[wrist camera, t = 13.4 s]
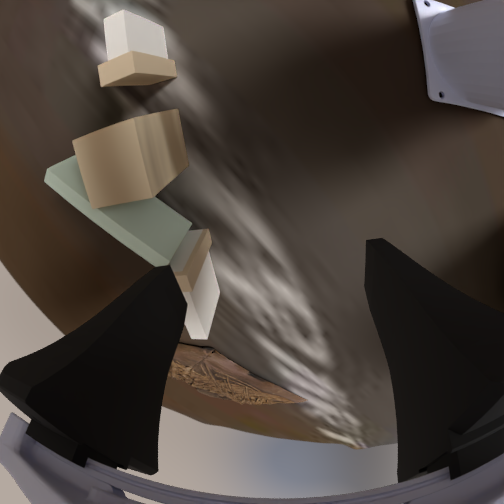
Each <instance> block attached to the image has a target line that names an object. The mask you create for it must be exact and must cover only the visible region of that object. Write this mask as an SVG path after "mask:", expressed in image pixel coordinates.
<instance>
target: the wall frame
mask: <svg viewBox="0 0 504 504" xmlns="http://www.w3.org/2000/svg"><path fill="white" fill-rule="evenodd" d="M104 29H105V39H106V47H107V55H108V61H107V62H105V63H103V64H101V65H99V66H98V71H99V77H100V84H101V87H107V86H130V85H152V84H155V83H158V82H162V81H165V80H168V79H172V78H175V77H177V72H176V67H175V61H174V60H170V59H168V54H167V48H166V42H165V35H164V28H163V27H162V26H160V25H158V24H156V23H154V22H152V21H150V20H147V19H145V18H143V17H141V16H138V15H136V14H133V13H131V12H129V11H126V10H124V9H123V10H121V11H119V12H117V13H115V14H113V15H111V16H109V17H107V18H105V19H104ZM211 244H212V240H211V236H210V232H209V229H200V230H190V231H188V232H187V233H186V235H185V237H184V238H183V240H182V242H181V243H180V245H179V247H178V248H177V250H176V252H175V254H174V255H173V257H172V259H171V260H170V262H169V263H168V265H170V266H171V268H172V270H173V273H174V275H175V277H176V279H177V282H178V284H179V286H180V288H181V291H182V293H183V295H184V297H185V299H186V302H187V304H188V306H187V312H186V318H185V325H186V327H187V330H188V332H189V334H190V336H191V339H207V338H208V334H209V331H210V327H211V323H212V320H213V316H214V312H215V309H216V305H217V301H218V298H219V294H220V290H219V287H218V283H217V279H216V276H215V272H214V268H213V264H212V261H211V257H210V253H209V249H210V247H211Z"/></svg>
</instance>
